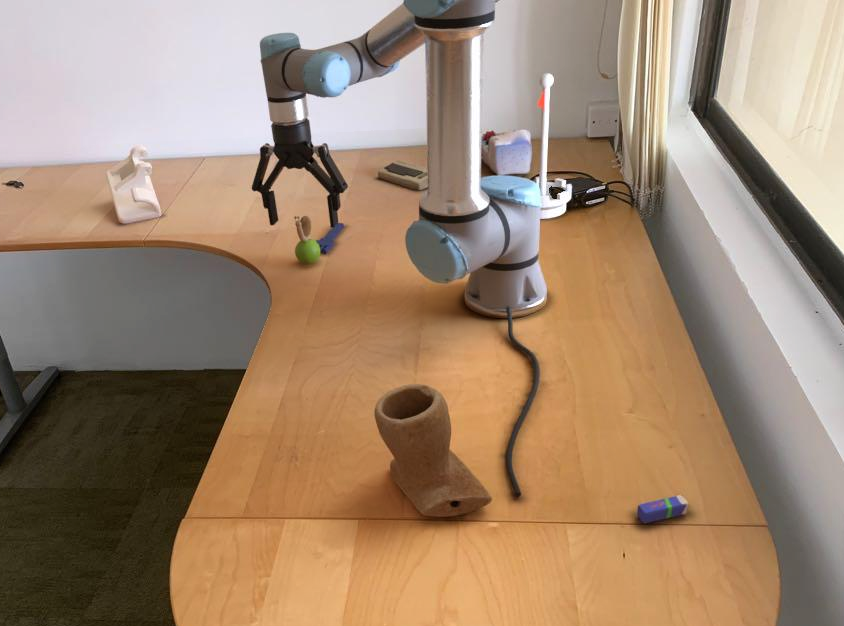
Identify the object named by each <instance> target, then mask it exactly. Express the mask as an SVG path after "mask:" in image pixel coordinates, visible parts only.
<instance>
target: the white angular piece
mask: <svg viewBox="0 0 844 626" xmlns="http://www.w3.org/2000/svg"><path fill="white" fill-rule="evenodd" d="M147 156H148V150H147V147H145V146H144V145H137V146H134V147H133V148H131V150H130V152H129V155H128V156H127V157H126V158H124V159H123V160H121V161H120V162H118V163H117V164H116V165H113V166H112V167H111V168H110V169H108V170H107V171H106V172H105V177H106V181H107V184H108V187H109V192H110V195H111V198H112V199H111V200H112V202H113V206H114V209H115V212H116V213H115V214H116V216H117V220H118V222H119V223H120V224H124V225H125V224H126V225H127V224H131V223H135V222H140V221H145V220H150V219H156V218H160V217H162V216H163V215H162V210H161V206H160V203H159V200H158V196H157V194H156V192H155V189H154V185H153V182H152V179H151V176H150V175H152V174H153V171H154V170H153V167H152V163H150V162H145V161H143V160H144V159H146V158H147ZM142 159H143V160H142Z"/></svg>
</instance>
